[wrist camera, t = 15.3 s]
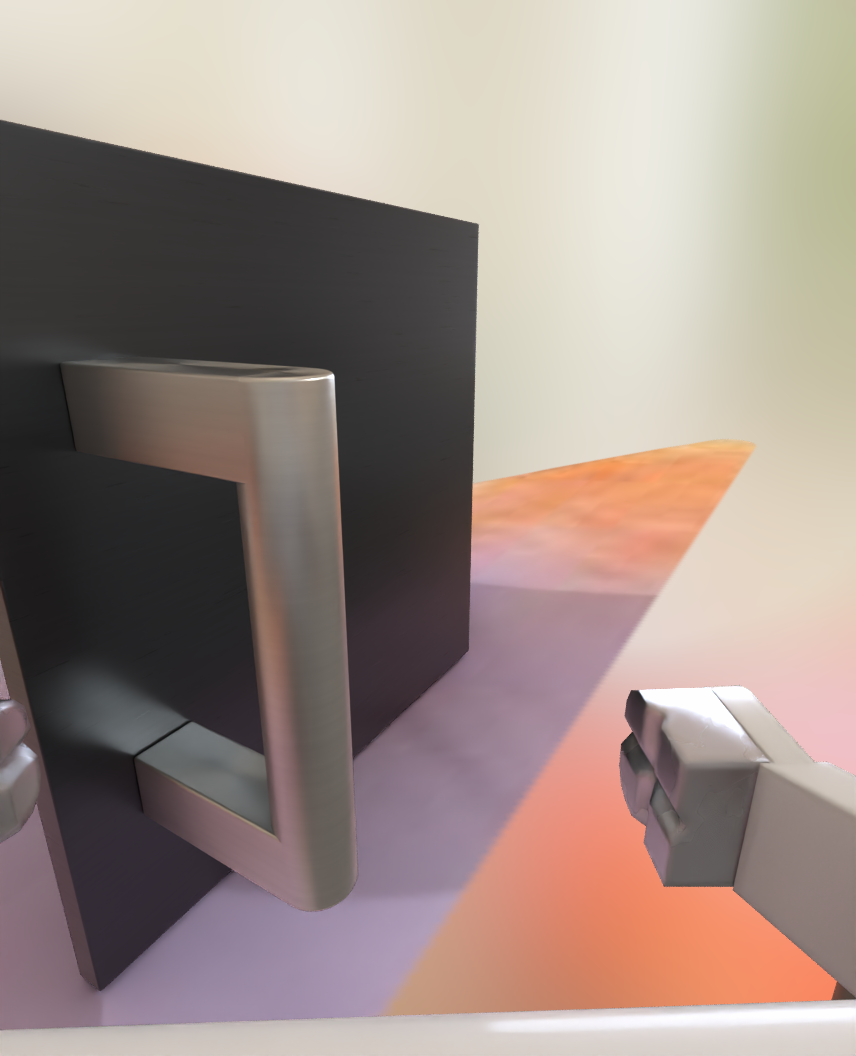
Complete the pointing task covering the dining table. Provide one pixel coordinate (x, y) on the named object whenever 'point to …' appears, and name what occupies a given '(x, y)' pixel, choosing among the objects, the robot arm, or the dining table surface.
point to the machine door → (220, 515)
